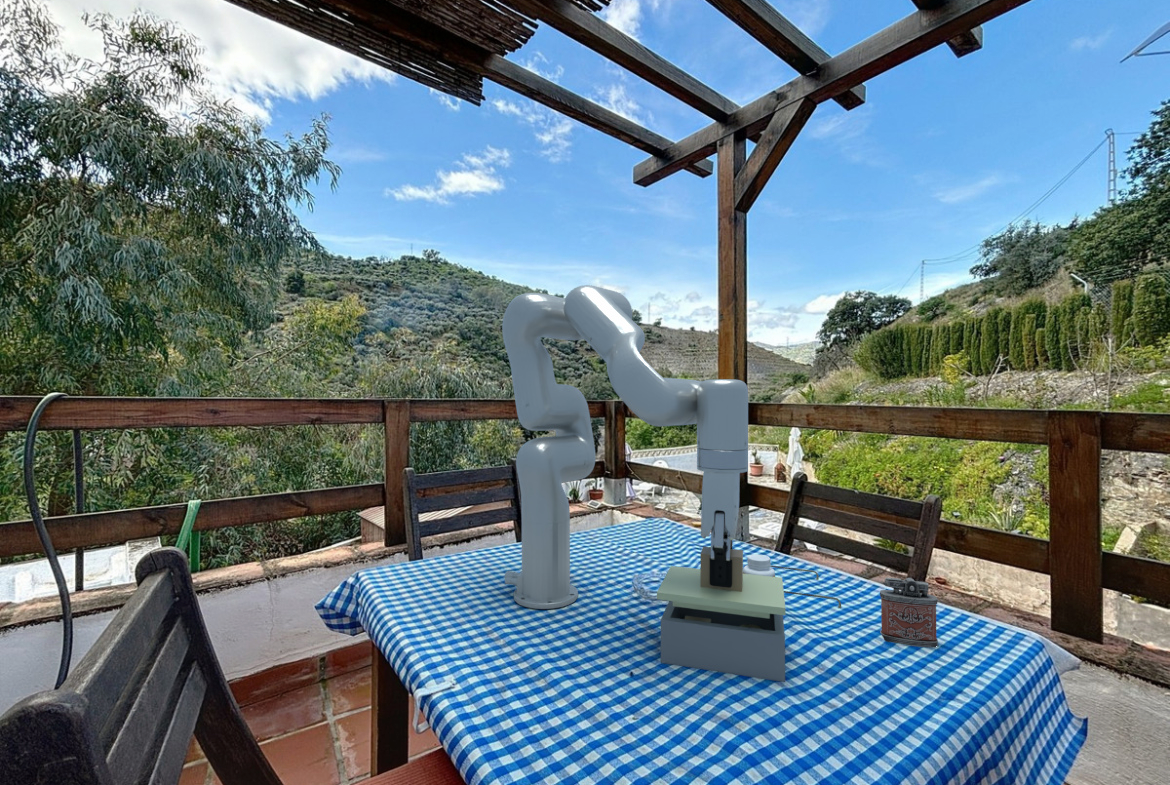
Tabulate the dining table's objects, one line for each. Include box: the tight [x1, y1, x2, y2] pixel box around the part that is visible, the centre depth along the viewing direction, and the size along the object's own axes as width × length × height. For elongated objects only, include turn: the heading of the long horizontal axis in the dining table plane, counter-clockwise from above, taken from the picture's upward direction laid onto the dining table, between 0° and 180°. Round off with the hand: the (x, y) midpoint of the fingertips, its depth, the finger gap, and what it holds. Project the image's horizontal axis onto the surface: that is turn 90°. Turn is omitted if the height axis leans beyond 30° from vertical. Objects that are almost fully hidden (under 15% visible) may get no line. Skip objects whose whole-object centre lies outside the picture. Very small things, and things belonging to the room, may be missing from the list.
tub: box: [660, 601, 786, 683], centre depth 80 cm, size 17×12×7 cm
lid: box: [656, 546, 786, 619], centre depth 81 cm, size 18×13×8 cm
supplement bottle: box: [743, 553, 776, 577], centre depth 97 cm, size 6×6×10 cm
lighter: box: [879, 576, 939, 648], centre depth 86 cm, size 8×3×10 cm, turn 71°
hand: (721, 579), depth 81 cm, fingers closed on lid, 4 cm apart
